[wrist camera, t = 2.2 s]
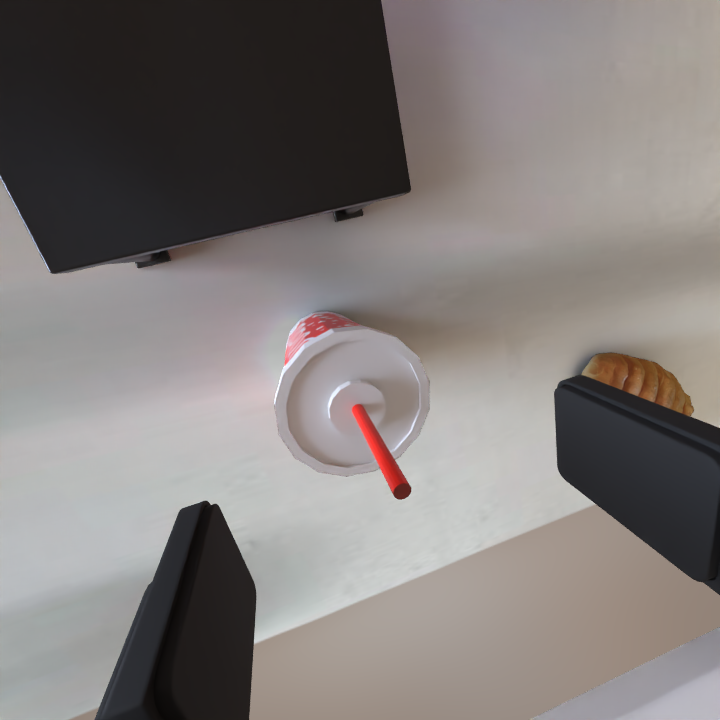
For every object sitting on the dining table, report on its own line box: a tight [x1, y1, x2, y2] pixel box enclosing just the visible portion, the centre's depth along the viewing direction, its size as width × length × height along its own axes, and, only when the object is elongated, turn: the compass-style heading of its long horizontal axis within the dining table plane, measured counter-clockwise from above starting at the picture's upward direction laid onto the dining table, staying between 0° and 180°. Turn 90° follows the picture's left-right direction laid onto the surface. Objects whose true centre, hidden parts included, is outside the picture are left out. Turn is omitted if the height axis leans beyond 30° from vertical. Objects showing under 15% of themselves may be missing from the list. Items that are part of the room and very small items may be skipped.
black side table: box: [0, 0, 411, 274], centre depth 13 cm, size 14×12×8 cm
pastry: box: [581, 353, 694, 416], centre depth 27 cm, size 9×7×4 cm
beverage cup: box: [274, 311, 430, 499], centre depth 15 cm, size 6×6×14 cm
